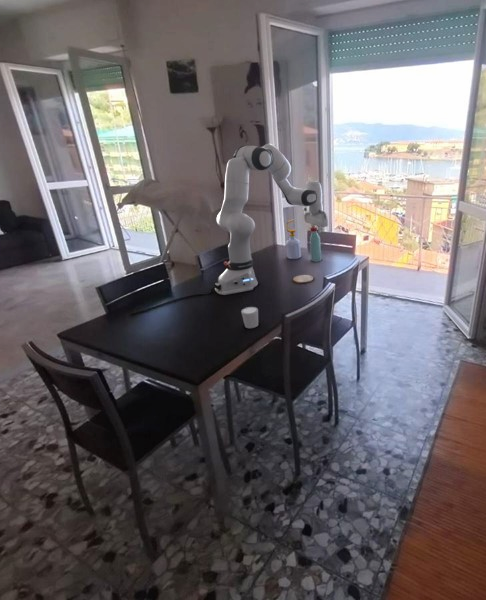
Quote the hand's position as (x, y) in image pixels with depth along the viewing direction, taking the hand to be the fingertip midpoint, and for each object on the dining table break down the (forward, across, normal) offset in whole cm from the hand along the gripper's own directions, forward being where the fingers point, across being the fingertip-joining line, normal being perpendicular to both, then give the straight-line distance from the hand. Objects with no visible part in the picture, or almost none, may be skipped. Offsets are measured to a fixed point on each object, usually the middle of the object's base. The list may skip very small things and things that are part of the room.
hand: (316, 231), depth 219 cm
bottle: (+18, 0, +2) cm, 18 cm away
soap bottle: (+18, +14, +9) cm, 25 cm away
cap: (-3, 0, +2) cm, 3 cm away
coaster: (+18, -23, +27) cm, 40 cm away
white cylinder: (+18, -52, +72) cm, 91 cm away
